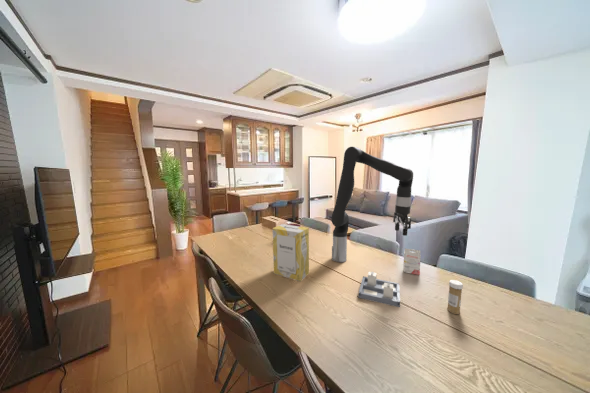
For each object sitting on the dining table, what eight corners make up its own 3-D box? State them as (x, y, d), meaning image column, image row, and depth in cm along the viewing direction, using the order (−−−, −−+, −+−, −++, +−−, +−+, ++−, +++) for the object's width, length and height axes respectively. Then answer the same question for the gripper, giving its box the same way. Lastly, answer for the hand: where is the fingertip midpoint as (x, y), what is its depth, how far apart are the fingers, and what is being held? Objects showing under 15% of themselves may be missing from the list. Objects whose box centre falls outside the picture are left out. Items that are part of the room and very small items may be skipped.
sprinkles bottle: (462, 313, 90) (465, 284, 89) (454, 315, 89) (456, 285, 88) (452, 306, 95) (455, 278, 93) (444, 308, 94) (446, 280, 92)
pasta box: (273, 273, 127) (272, 228, 123) (283, 266, 136) (282, 224, 132) (300, 281, 118) (299, 232, 114) (308, 273, 127) (308, 227, 123)
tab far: (367, 284, 111) (367, 274, 110) (368, 281, 114) (368, 270, 113) (375, 286, 109) (376, 275, 108) (376, 282, 113) (376, 272, 112)
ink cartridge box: (419, 271, 127) (420, 247, 125) (419, 275, 123) (421, 250, 121) (403, 268, 131) (404, 245, 129) (403, 272, 127) (404, 248, 124)
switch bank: (358, 297, 102) (358, 292, 102) (362, 280, 118) (363, 276, 117) (399, 307, 95) (400, 302, 95) (398, 287, 110) (399, 283, 110)
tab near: (383, 297, 100) (383, 285, 99) (383, 293, 103) (384, 281, 102) (392, 299, 98) (393, 287, 97) (392, 295, 102) (393, 283, 101)
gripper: (390, 202, 125) (388, 229, 127) (403, 207, 110) (400, 237, 113) (402, 202, 125) (400, 229, 127) (417, 207, 111) (414, 237, 113)
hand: (400, 232), depth 120 cm, fingers open, 8 cm apart
